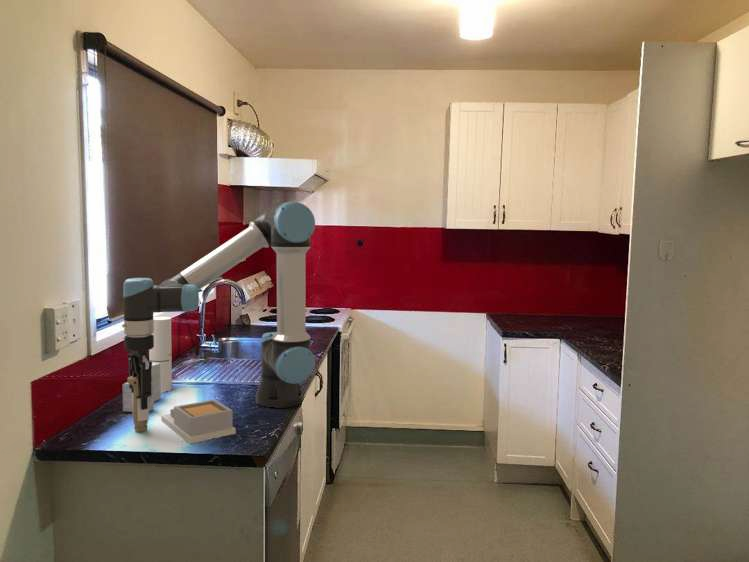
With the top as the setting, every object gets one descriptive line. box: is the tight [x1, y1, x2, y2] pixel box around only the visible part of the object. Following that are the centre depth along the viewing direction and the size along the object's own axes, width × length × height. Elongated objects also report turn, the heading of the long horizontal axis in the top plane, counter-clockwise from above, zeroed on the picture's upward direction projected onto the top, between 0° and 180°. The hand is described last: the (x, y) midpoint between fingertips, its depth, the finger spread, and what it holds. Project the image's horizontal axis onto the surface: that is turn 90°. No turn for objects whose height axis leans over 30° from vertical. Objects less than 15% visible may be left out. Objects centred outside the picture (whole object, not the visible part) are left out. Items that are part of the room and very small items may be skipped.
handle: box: [127, 376, 152, 433], centre depth 162 cm, size 5×6×15 cm
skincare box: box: [151, 362, 162, 402], centre depth 189 cm, size 6×4×12 cm
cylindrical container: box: [148, 316, 173, 393], centre depth 201 cm, size 7×7×25 cm
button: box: [184, 404, 221, 417], centre depth 163 cm, size 8×8×2 cm
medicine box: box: [122, 381, 155, 413], centre depth 179 cm, size 8×4×9 cm, turn 77°
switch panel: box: [160, 399, 237, 445], centre depth 167 cm, size 13×22×6 cm, turn 39°
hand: (140, 417), depth 162 cm, fingers closed on handle, 4 cm apart
